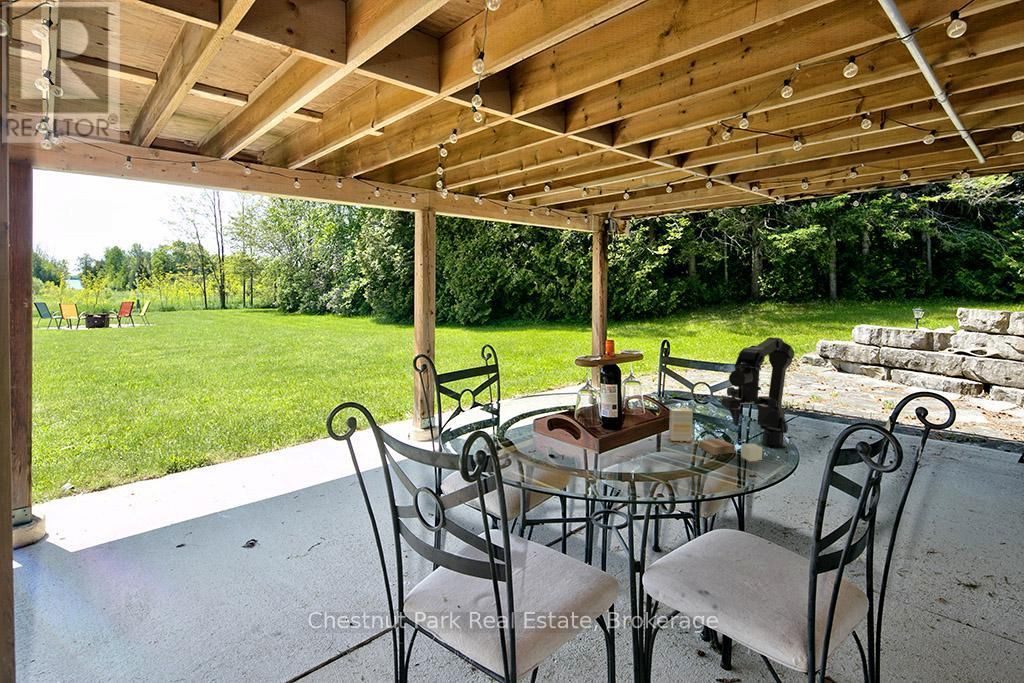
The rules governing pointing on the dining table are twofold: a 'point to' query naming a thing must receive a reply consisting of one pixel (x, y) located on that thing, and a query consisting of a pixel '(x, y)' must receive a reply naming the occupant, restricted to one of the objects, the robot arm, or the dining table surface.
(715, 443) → the walnut block
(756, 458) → the cube
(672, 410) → the supplement box
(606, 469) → the dining table surface
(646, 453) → the dining table surface
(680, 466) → the dining table surface
